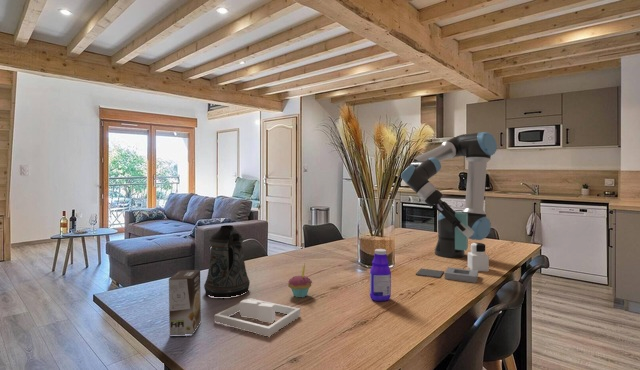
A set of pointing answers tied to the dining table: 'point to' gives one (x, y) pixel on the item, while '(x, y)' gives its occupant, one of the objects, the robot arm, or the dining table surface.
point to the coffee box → (184, 302)
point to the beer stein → (226, 264)
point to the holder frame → (261, 329)
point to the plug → (460, 238)
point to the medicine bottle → (478, 258)
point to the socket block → (461, 274)
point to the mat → (430, 273)
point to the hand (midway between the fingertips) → (471, 235)
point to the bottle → (380, 277)
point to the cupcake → (300, 285)
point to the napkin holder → (258, 310)
